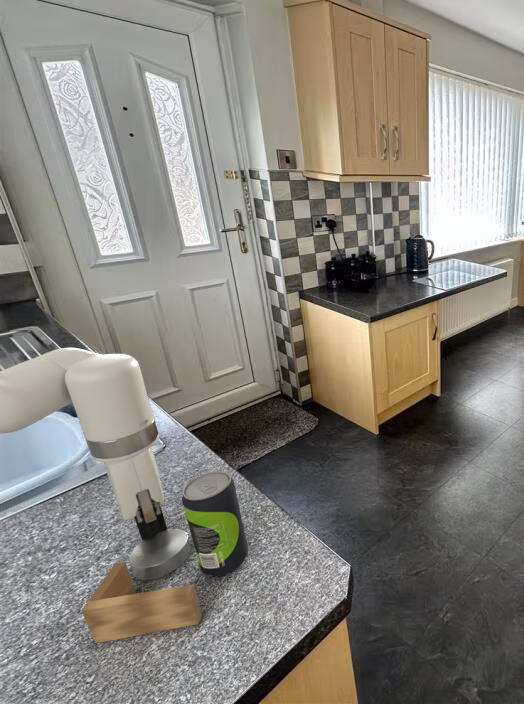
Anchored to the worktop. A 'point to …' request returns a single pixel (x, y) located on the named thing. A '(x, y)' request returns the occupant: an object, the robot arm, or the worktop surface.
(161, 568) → the brushed steel puck
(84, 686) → the worktop surface
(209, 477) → the beverage can
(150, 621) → the corner guard
